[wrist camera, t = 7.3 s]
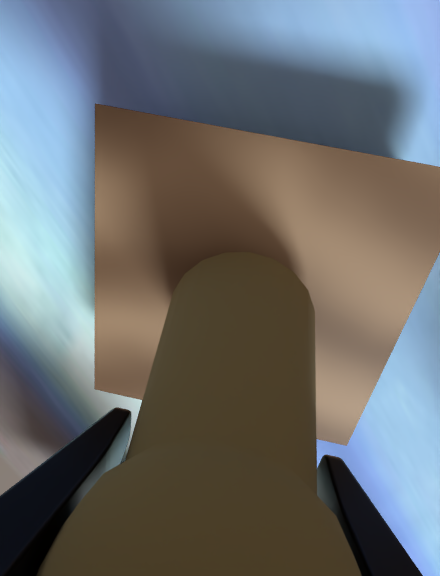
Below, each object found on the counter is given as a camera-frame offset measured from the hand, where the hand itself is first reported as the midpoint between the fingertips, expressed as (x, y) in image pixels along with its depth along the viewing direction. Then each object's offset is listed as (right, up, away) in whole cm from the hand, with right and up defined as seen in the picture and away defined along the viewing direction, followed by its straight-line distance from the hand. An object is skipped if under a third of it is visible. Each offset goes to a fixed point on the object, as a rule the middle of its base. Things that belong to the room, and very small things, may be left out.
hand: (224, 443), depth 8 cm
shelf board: (+1, +4, +8) cm, 9 cm away
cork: (+1, +3, +6) cm, 6 cm away
